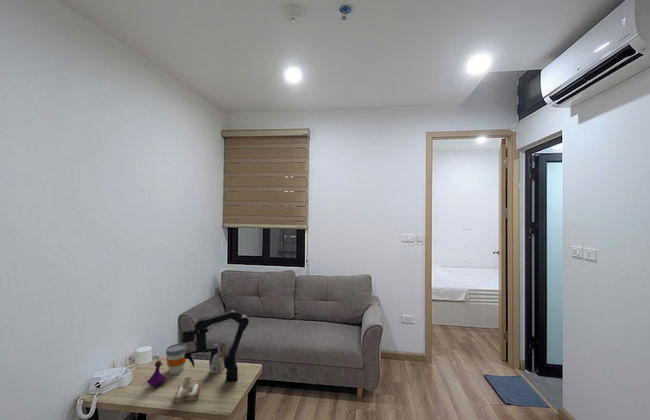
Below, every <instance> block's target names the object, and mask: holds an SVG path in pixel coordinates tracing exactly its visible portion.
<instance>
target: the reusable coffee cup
mask: <svg viewBox="0 0 650 420" xmlns="http://www.w3.org/2000/svg"><path fill="white" fill-rule="evenodd" d="M187 347H188V346H187V345H186V343H175V344H171V345H170V346H168V347H166V350H165V356H166V363H167V367H168V373H169V374H171V375H174V374H179V373H182V372H183V371H184V370H185V365H186V361H187V358H184V354H185V351H186V350H188V348H187Z"/></svg>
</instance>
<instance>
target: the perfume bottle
mask: <svg viewBox="0 0 650 420" xmlns="http://www.w3.org/2000/svg"><path fill="white" fill-rule="evenodd" d="M153 359H156V362H155V364H154V367H155V370H154V372H153V374H152V376H151V377H150V378H149V379H148V380H147V384H148V385H150V386H151V387H152V388H158V387H160V386H162V385H163V383H165V382H166V380H167V377H166V376H164V374H163V373H161V372H160V368H161V366H162V365H163V363H162V360H160V355H159V354H156V355H154V356H153Z"/></svg>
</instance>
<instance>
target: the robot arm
mask: <svg viewBox="0 0 650 420" xmlns="http://www.w3.org/2000/svg"><path fill="white" fill-rule="evenodd" d="M230 319H231V320H234V321H235V322H236V323H237V328H236V332H235V334H234V337H233V340H232V342H231V345H230V348H229V350H228V352H225V357H224V358H223V360H224V368H225V369H226V372H225V379H226V382H227V383H229V382H236V381H238V380H239V374H238V371H239V369H238V368H239V367H238V362H237V361H236V354H237V350H238V348H239V345H240V343H241V340H242V337H243V333H244V332H245V330H246V329H247V327H248V325H249V321H250V320H249V317H248V316H247V315H246V314H241V313H239V312H236V311H235V310H230V311H227V312H223V313H220V314H217V315H214V316H203V317H198V318H197V319H196V321H195V325H194V326H193V328H192V329H189V330H183V331H182V338H181V339H182V341H181V342H182V344H187V343H193V342H194V347H196V350H194V349H193V348H190V349H187V350H186V351H185V354H184V358H186V360H188V361H189V362H190V364H191V365H192V367H193V368H195V366H196V365H195V359H194V355H198V354H205V353H209V352H211V357H210V364H211V362H212V359H213V356H214V355H216V353H218V345H214V344H213V345H214V346H212V345H211V346H210V347H211V348H210V347H208V341H207V333H209V332H210V328H208V327H210V326H212V325H215V324H218V323H222V322H224V321H227V320H230Z"/></svg>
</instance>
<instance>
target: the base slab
mask: <svg viewBox="0 0 650 420" xmlns="http://www.w3.org/2000/svg"><path fill="white" fill-rule="evenodd" d="M201 390H202V389H201V382H197V383H193V391H192V392H187V393H183V385H179V386H177V389H176V392H175V395H174V398H173V402H174V403H173V404H174V405H175V404H176V405H177V404H182V403H187V402H188V403H189V402H194V400H195V401H198V400H199V396H200V393H201Z"/></svg>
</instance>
